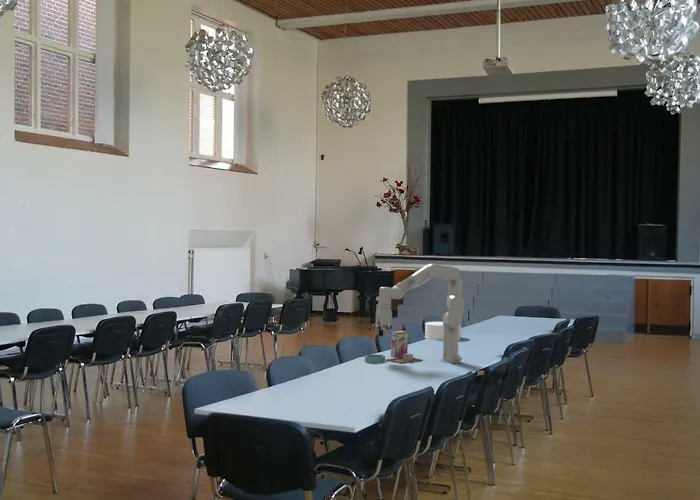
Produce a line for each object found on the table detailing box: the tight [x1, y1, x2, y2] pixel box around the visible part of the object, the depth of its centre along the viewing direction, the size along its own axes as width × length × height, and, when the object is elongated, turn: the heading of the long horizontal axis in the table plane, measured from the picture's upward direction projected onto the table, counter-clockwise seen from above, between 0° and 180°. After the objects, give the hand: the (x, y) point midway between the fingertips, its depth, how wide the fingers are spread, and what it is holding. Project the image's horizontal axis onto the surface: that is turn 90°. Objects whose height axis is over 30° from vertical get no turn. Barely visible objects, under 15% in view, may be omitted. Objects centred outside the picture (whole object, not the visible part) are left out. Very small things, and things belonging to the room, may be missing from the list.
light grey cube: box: [381, 327, 390, 338], centre depth 470 cm, size 4×4×5 cm
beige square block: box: [402, 352, 414, 362], centre depth 470 cm, size 4×4×5 cm
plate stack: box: [424, 321, 462, 341], centre depth 587 cm, size 28×28×12 cm
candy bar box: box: [390, 330, 409, 358], centre depth 492 cm, size 11×5×16 cm, turn 130°
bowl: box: [364, 354, 386, 364], centre depth 470 cm, size 12×12×4 cm
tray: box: [385, 356, 423, 364], centre depth 473 cm, size 14×18×1 cm
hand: (383, 335), depth 470 cm, fingers closed on light grey cube, 4 cm apart
